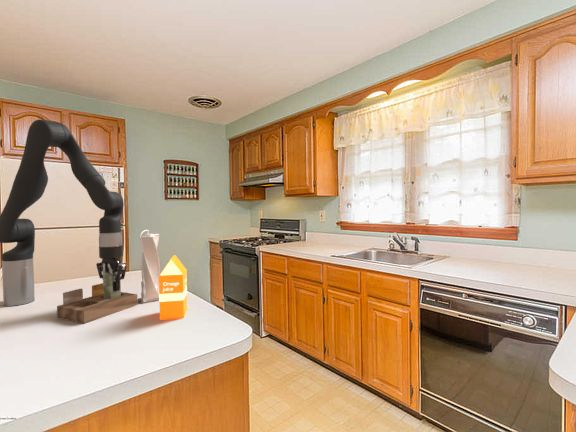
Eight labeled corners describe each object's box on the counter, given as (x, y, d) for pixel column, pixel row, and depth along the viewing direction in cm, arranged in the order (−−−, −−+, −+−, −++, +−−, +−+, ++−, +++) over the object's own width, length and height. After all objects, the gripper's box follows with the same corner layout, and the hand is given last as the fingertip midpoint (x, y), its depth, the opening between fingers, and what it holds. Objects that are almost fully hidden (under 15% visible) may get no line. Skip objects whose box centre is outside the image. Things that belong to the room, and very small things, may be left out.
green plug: (103, 299, 111) (102, 273, 111) (113, 296, 115) (112, 270, 115) (111, 301, 110) (110, 273, 109) (120, 298, 113) (120, 271, 113)
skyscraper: (137, 298, 122) (135, 230, 121) (158, 295, 127) (156, 229, 126) (141, 303, 115) (140, 231, 115) (163, 299, 120) (162, 230, 119)
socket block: (57, 317, 101) (56, 294, 101) (112, 300, 120) (111, 280, 120) (84, 323, 96) (83, 298, 96) (137, 304, 114) (137, 283, 114)
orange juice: (159, 320, 98) (157, 259, 98) (164, 311, 107) (163, 255, 106) (184, 318, 100) (183, 258, 99) (187, 309, 108) (186, 254, 108)
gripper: (88, 245, 111) (89, 291, 111) (114, 246, 105) (116, 295, 106) (107, 243, 118) (108, 286, 118) (133, 244, 112) (134, 289, 113)
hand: (112, 290), depth 112 cm, fingers closed on green plug, 4 cm apart
